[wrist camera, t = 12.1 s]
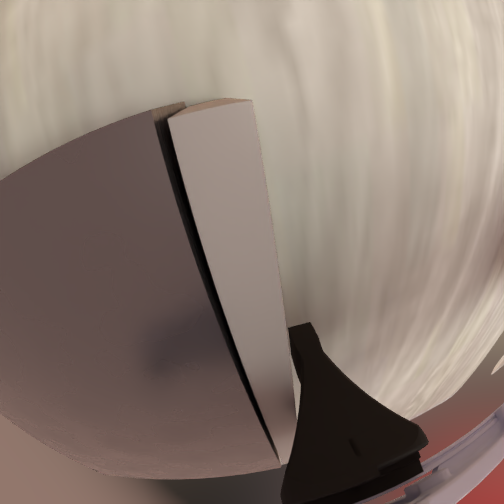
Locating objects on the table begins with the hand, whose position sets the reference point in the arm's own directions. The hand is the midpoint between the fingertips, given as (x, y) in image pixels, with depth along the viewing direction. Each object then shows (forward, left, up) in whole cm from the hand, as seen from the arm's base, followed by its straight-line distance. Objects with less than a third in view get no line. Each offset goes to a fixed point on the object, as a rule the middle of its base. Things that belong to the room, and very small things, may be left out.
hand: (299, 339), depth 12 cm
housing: (+5, -7, -2) cm, 9 cm away
